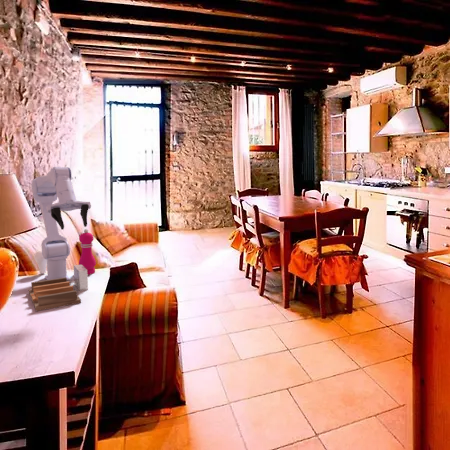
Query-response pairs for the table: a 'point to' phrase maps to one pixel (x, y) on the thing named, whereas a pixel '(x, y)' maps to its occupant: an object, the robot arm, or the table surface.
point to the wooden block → (80, 277)
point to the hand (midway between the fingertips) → (74, 226)
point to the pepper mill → (87, 252)
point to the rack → (53, 294)
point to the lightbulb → (40, 261)
